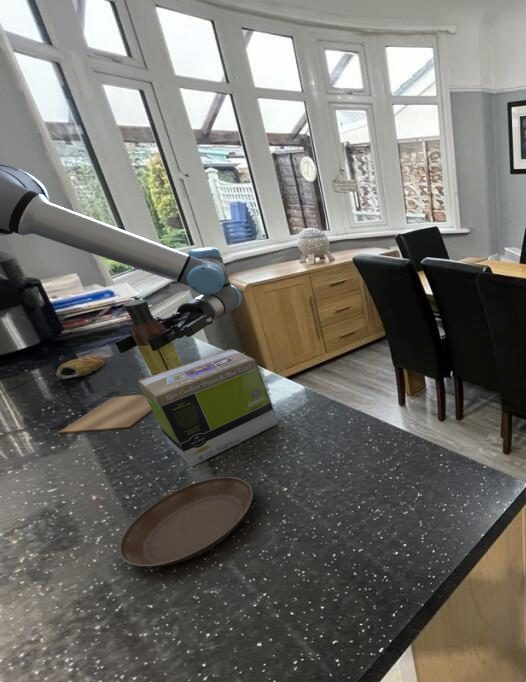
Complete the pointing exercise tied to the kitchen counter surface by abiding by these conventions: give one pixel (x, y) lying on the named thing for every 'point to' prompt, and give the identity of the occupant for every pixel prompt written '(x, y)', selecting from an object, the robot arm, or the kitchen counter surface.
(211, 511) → the saucer
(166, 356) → the sauce bottle
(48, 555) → the kitchen counter surface
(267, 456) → the kitchen counter surface
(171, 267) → the robot arm
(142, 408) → the cork mat
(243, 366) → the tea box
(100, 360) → the pastry
